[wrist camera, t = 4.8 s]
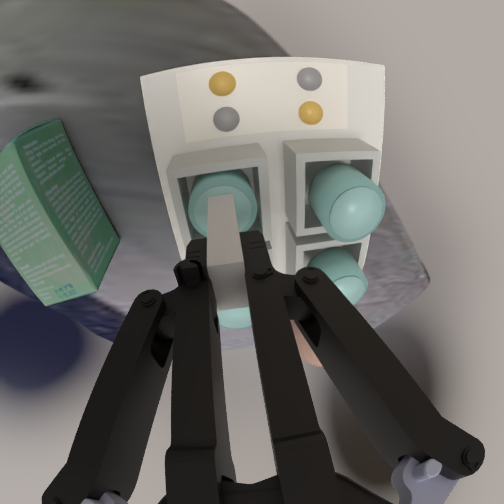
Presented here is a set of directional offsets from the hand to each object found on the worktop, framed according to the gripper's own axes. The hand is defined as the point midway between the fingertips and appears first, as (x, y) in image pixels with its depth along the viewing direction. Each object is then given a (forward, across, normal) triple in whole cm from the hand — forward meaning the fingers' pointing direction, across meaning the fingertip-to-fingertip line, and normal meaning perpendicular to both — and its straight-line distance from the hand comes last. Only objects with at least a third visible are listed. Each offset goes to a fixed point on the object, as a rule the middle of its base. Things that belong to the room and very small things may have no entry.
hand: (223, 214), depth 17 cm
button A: (+3, 0, 0) cm, 3 cm away
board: (+6, +4, 0) cm, 8 cm away
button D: (+1, +8, -7) cm, 11 cm away
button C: (+1, +8, 0) cm, 8 cm away
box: (+7, -15, +2) cm, 17 cm away
